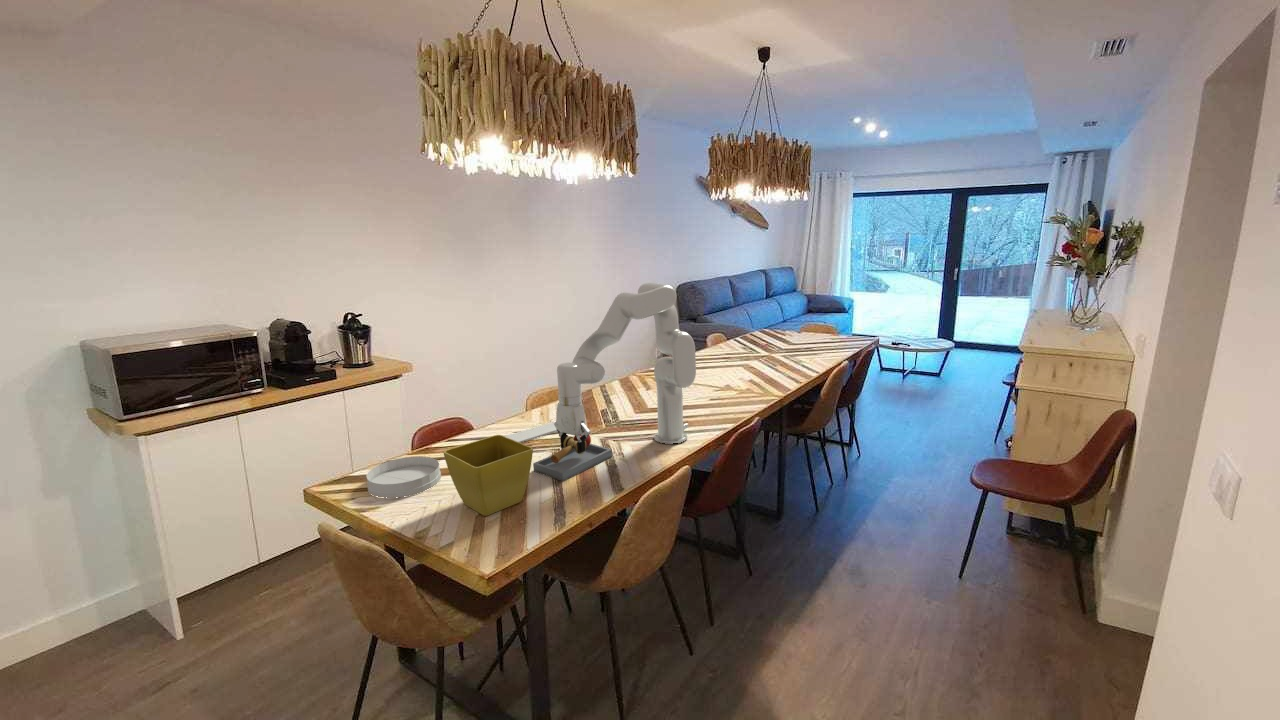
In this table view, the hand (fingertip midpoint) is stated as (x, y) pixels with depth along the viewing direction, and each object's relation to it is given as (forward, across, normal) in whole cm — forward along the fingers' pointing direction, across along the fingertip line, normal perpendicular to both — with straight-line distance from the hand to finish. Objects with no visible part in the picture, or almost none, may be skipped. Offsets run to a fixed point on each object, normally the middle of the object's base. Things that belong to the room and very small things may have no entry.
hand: (573, 449), depth 190 cm
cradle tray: (+5, 0, 0) cm, 5 cm away
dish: (+6, -35, -42) cm, 55 cm away
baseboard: (+6, -36, +10) cm, 38 cm away
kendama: (+2, 0, -1) cm, 2 cm away
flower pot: (+6, 0, -34) cm, 34 cm away
